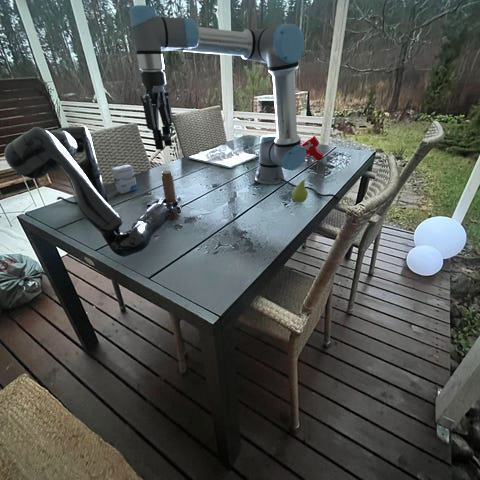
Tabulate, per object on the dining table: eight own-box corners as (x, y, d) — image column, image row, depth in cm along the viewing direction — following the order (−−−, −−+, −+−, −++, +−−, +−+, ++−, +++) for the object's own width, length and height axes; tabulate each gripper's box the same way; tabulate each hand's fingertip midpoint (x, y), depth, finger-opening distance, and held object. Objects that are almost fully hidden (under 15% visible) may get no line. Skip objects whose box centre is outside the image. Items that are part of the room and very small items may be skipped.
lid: (156, 141, 93) (155, 136, 92) (155, 138, 97) (154, 134, 96) (171, 140, 94) (170, 135, 94) (169, 137, 98) (168, 132, 98)
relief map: (230, 168, 162) (230, 159, 159) (189, 158, 180) (188, 150, 177) (256, 157, 180) (256, 149, 177) (216, 149, 198) (215, 142, 195)
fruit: (288, 200, 123) (290, 174, 116) (302, 197, 125) (305, 172, 119) (296, 206, 118) (299, 179, 111) (310, 203, 120) (314, 177, 114)
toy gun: (327, 155, 171) (314, 135, 167) (326, 157, 167) (314, 136, 164) (302, 170, 181) (290, 151, 177) (301, 172, 177) (288, 153, 174)
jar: (172, 213, 113) (166, 169, 103) (180, 215, 112) (174, 171, 102) (166, 217, 110) (158, 172, 100) (173, 219, 109) (166, 174, 99)
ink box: (133, 186, 138) (127, 163, 132) (137, 189, 135) (132, 165, 129) (116, 191, 133) (110, 167, 127) (121, 194, 130) (114, 170, 124)
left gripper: (171, 209, 92) (189, 190, 106) (133, 206, 95) (156, 188, 109) (174, 228, 96) (191, 208, 111) (138, 225, 99) (159, 205, 113)
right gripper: (158, 70, 93) (168, 141, 105) (123, 71, 79) (140, 153, 91) (177, 70, 91) (185, 142, 103) (145, 71, 76) (159, 154, 89)
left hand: (173, 198), depth 110 cm, fingers closed on jar, 4 cm apart
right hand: (164, 147), depth 97 cm, fingers closed on lid, 5 cm apart
